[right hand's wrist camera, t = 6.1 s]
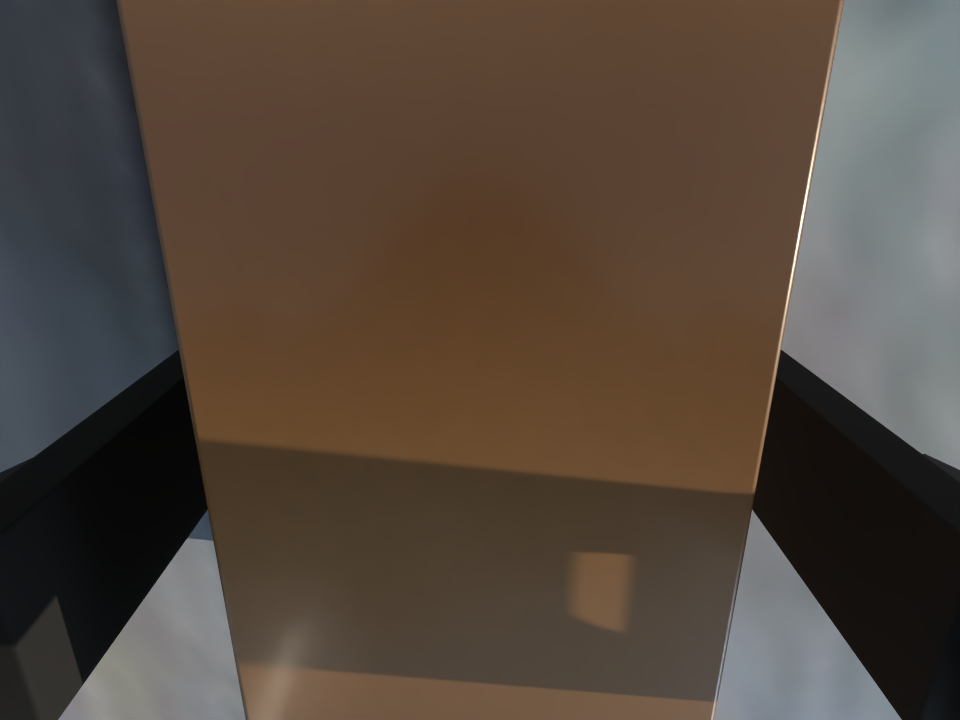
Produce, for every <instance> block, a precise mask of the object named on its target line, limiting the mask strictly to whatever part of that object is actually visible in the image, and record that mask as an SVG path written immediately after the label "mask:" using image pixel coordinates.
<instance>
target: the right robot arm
mask: <svg viewBox="0 0 960 720" xmlns="http://www.w3.org/2000/svg"><path fill="white" fill-rule="evenodd" d="M207 509H208V507H207V502H206V496H205V491H204V485H203V479H202V474H201V468H200V463H199V457H198V452H197V446H196V441H195V435H194V430H193V424H192V419H191V413H190V408H189V402H188V396H187V391H186V385H185V380H184V374H183V369H182V363H181V358H180V352H179V350H178V351H176V352H175V353H174V354H172V355H171V356H170V357H168V358H167V359H166V360H164V361H163V362H162V363H160V364H159V365H158V366H156V367H155V368H154V369H152V370H151V371H150V372H148V373H147V374H145V375H144V376H143V377H141V378H140V379H139V380H137V381H136V382H135V383H133V384H132V385H131V386H129V387H128V388H127V389H125V390H124V391H123V392H121V393H120V394H119V395H117V396H116V397H114V398H113V399H112V400H110V401H109V402H108V403H106V404H105V405H104V406H102V407H101V408H100V409H98V410H97V411H96V412H94V413H93V414H92V415H90V416H89V417H88V418H86V419H85V420H83V421H82V422H81V423H79V424H78V425H77V426H75V427H74V428H73V429H71V430H70V431H69V432H67V433H66V434H65V435H63V436H62V437H61V438H59V439H58V440H57V441H55V442H54V443H52V444H51V445H50V446H48V447H47V448H46V449H44V450H43V451H42V452H40V453H39V454H38V455H36V456H35V457H33V458H31V459H29V460H27V461H25V462H23V463H20V464H18V465H16V466H14V467H12V468H10V469H7V470H5V471H3V472H1V473H0V720H58V719H59V718H60V716H61V715H62V713H63V712H64V711H65V709H66V708H67V706H68V705H69V704H70V702H71V701H72V699H73V698H74V696H75V695H76V694H77V692H78V691H79V689H80V688H81V687H82V685H83V684H84V682H85V681H86V680H87V678H88V677H89V675H90V674H91V673H92V671H93V670H94V668H95V667H96V666H97V664H98V663H99V661H100V660H101V659H102V657H103V656H104V654H105V653H106V651H107V650H108V649H109V647H110V646H111V644H112V643H113V642H114V640H115V639H116V637H117V636H118V635H119V633H120V632H121V630H122V629H123V628H124V626H125V625H126V623H127V622H128V621H129V619H130V618H131V616H132V615H133V614H134V612H135V611H136V609H137V608H138V606H139V605H140V604H141V602H142V601H143V599H144V598H145V597H146V595H147V594H148V592H149V591H150V590H151V588H152V587H153V585H154V584H155V583H156V581H157V580H158V578H159V577H160V576H161V574H162V573H163V571H164V570H165V569H166V567H167V566H168V564H169V563H170V561H171V560H172V559H173V557H174V556H175V554H176V553H177V552H178V550H179V549H180V547H181V546H182V545H183V543H184V542H185V540H186V539H187V538H188V536H189V535H190V533H191V532H192V531H193V529H194V528H195V526H196V525H197V524H198V522H199V521H200V519H201V518H202V516H203V515H204V514H205V512H206V511H207ZM752 509H753V511H754V512H755V514H756V515H757V516H758V518H759V519H760V521H761V522H762V524H763V525H764V526H765V528H766V529H767V531H768V532H769V533H770V535H771V536H772V538H773V539H774V540H775V542H776V543H777V545H778V546H779V547H780V549H781V550H782V552H783V553H784V554H785V556H786V557H787V559H788V560H789V561H790V563H791V564H792V566H793V567H794V569H795V570H796V571H797V573H798V574H799V576H800V577H801V578H802V580H803V581H804V583H805V584H806V585H807V587H808V588H809V590H810V591H811V592H812V594H813V595H814V597H815V598H816V599H817V601H818V602H819V604H820V605H821V606H822V608H823V609H824V611H825V612H826V614H827V615H828V616H829V618H830V619H831V621H832V622H833V623H834V625H835V626H836V628H837V629H838V630H839V632H840V633H841V635H842V636H843V637H844V639H845V640H846V642H847V643H848V644H849V646H850V647H851V649H852V650H853V651H854V653H855V654H856V656H857V657H858V659H859V660H860V661H861V663H862V664H863V666H864V667H865V668H866V670H867V671H868V673H869V674H870V675H871V677H872V678H873V680H874V681H875V682H876V684H877V685H878V687H879V688H880V689H881V691H882V692H883V694H884V695H885V696H886V698H887V699H888V701H889V702H890V704H891V705H892V706H893V708H894V709H895V711H896V712H897V713H898V715H899V716H900V718H901V719H902V720H960V470H958V469H956V468H954V467H952V466H950V465H948V464H945V463H943V462H941V461H939V460H937V459H935V458H932V457H930V456H928V455H926V454H921V453H920V452H918V451H917V450H916V449H914V448H913V447H912V446H910V445H909V444H907V443H906V442H905V441H903V440H902V439H901V438H899V437H898V436H897V435H895V434H894V433H893V432H891V431H890V430H889V429H887V428H886V427H885V426H883V425H882V424H881V423H879V422H878V421H876V420H875V419H874V418H872V417H871V416H870V415H868V414H867V413H866V412H864V411H863V410H862V409H860V408H859V407H858V406H856V405H855V404H854V403H852V402H851V401H850V400H848V399H847V398H846V397H844V396H843V395H841V394H840V393H839V392H837V391H836V390H835V389H833V388H832V387H831V386H829V385H828V384H827V383H825V382H824V381H823V380H821V379H820V378H819V377H817V376H816V375H815V374H813V373H812V372H810V371H809V370H808V369H806V368H805V367H804V366H802V365H801V364H800V363H798V362H797V361H796V360H794V359H793V358H792V357H790V356H789V355H788V354H786V353H785V352H784V351H782V350H781V352H780V357H779V363H778V368H777V374H776V379H775V385H774V390H773V396H772V401H771V407H770V412H769V418H768V423H767V429H766V434H765V440H764V445H763V451H762V457H761V462H760V468H759V473H758V479H757V484H756V490H755V495H754V501H753V506H752Z"/></svg>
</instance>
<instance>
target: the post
mask: <svg viewBox="0 0 960 720" xmlns="http://www.w3.org/2000/svg"><path fill="white" fill-rule="evenodd" d="M116 3H117V9H118V15H119V20H120V26H121V31H122V37H123V42H124V48H125V53H126V59H127V64H128V70H129V75H130V81H131V86H132V92H133V98H134V103H135V109H136V114H137V120H138V125H139V131H140V136H141V142H142V147H143V153H144V158H145V164H146V170H147V175H148V181H149V186H150V192H151V197H152V203H153V208H154V214H155V219H156V225H157V230H158V236H159V241H160V247H161V253H162V258H163V264H164V269H165V275H166V280H167V286H168V291H169V297H170V302H171V308H172V313H173V319H174V324H175V330H176V336H177V341H178V347H179V352H180V358H181V363H182V369H183V374H184V380H185V385H186V391H187V396H188V402H189V408H190V413H191V419H192V424H193V430H194V435H195V441H196V446H197V452H198V457H199V463H200V468H201V474H202V479H203V485H204V491H205V496H206V502H207V507H208V513H209V518H210V524H211V529H212V535H213V540H214V546H215V551H216V557H217V562H218V568H219V574H220V579H221V585H222V590H223V596H224V601H225V607H226V612H227V618H228V623H229V629H230V634H231V640H232V646H233V651H234V657H235V662H236V668H237V673H238V679H239V684H240V690H241V695H242V701H243V706H244V712H245V717H246V720H714V716H715V711H716V705H717V699H718V694H719V688H720V683H721V677H722V672H723V666H724V661H725V655H726V650H727V644H728V639H729V633H730V628H731V622H732V617H733V611H734V606H735V600H736V595H737V589H738V584H739V578H740V572H741V567H742V561H743V556H744V550H745V545H746V539H747V534H748V528H749V523H750V517H751V512H752V506H753V501H754V495H755V490H756V484H757V479H758V473H759V468H760V462H761V457H762V451H763V445H764V440H765V434H766V429H767V423H768V418H769V412H770V407H771V401H772V396H773V390H774V385H775V379H776V374H777V368H778V363H779V357H780V352H781V346H782V341H783V335H784V329H785V324H786V318H787V313H788V307H789V302H790V296H791V291H792V285H793V280H794V274H795V269H796V263H797V258H798V252H799V247H800V241H801V236H802V230H803V225H804V219H805V214H806V208H807V202H808V197H809V191H810V186H811V180H812V175H813V169H814V164H815V158H816V153H817V147H818V142H819V136H820V131H821V125H822V120H823V114H824V109H825V103H826V98H827V92H828V87H829V81H830V75H831V70H832V64H833V59H834V53H835V48H836V42H837V37H838V31H839V26H840V20H841V15H842V9H843V4H844V0H116Z"/></svg>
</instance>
